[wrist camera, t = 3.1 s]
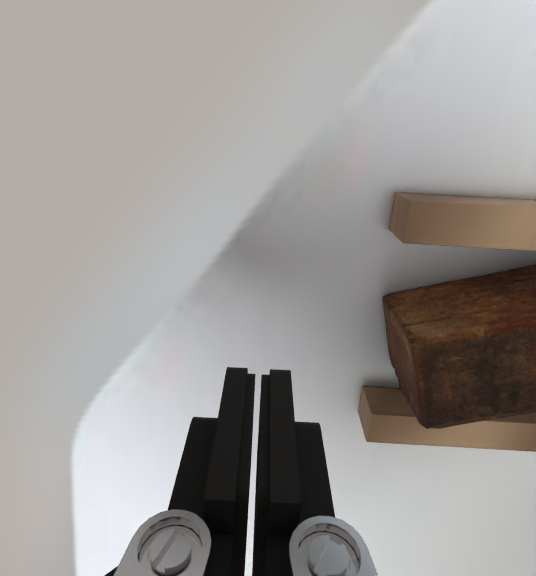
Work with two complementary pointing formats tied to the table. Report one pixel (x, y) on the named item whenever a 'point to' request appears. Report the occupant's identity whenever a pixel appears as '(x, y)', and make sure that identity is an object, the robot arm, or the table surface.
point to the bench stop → (466, 233)
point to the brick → (466, 347)
